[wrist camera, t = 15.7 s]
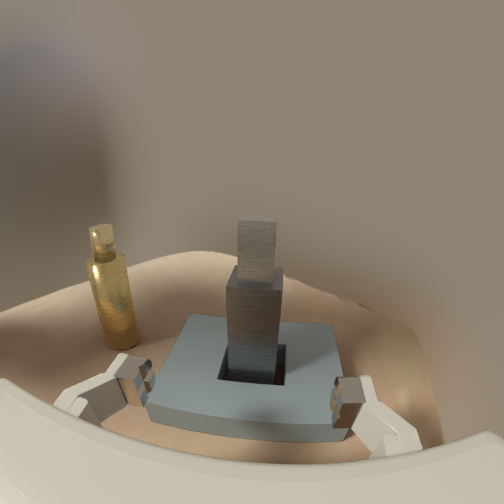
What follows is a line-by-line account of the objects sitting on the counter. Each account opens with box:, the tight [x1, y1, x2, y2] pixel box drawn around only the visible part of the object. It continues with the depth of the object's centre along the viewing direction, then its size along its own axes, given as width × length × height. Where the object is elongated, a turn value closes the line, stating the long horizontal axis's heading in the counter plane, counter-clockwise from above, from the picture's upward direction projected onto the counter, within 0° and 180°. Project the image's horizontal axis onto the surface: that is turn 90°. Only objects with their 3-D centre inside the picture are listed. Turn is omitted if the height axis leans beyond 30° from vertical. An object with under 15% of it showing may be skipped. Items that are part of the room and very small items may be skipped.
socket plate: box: [145, 314, 349, 442], centre depth 21 cm, size 14×12×2 cm
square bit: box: [226, 212, 283, 385], centre depth 19 cm, size 3×3×14 cm
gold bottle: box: [86, 224, 140, 350], centre depth 24 cm, size 4×4×12 cm
